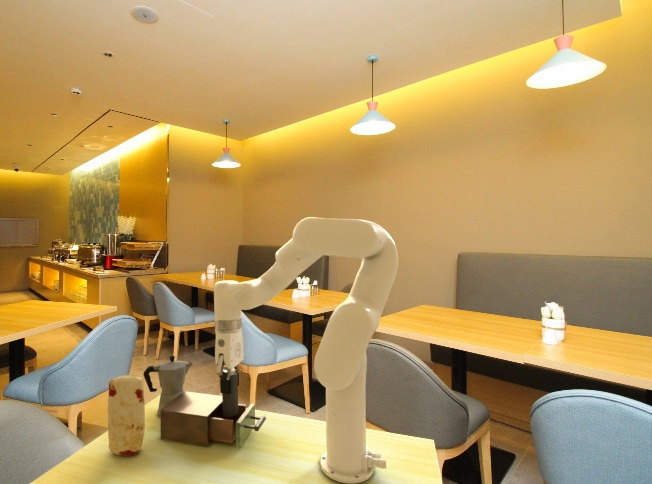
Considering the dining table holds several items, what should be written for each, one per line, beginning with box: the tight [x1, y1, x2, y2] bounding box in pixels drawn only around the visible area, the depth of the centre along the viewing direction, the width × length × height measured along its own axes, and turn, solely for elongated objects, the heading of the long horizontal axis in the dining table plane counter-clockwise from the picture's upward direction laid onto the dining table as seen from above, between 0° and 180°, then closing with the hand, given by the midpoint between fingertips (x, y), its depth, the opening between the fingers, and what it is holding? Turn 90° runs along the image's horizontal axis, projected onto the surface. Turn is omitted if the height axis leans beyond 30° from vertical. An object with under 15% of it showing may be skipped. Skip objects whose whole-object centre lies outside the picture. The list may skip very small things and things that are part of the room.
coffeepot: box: [143, 355, 194, 416], centre depth 115 cm, size 15×9×18 cm, turn 114°
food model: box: [107, 374, 146, 457], centre depth 93 cm, size 10×7×20 cm
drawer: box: [209, 403, 267, 448], centre depth 100 cm, size 18×11×6 cm, turn 74°
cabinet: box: [159, 390, 222, 448], centre depth 103 cm, size 15×13×8 cm
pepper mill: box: [221, 368, 239, 417], centre depth 100 cm, size 4×4×12 cm
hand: (229, 388), depth 100 cm, fingers closed on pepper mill, 4 cm apart
